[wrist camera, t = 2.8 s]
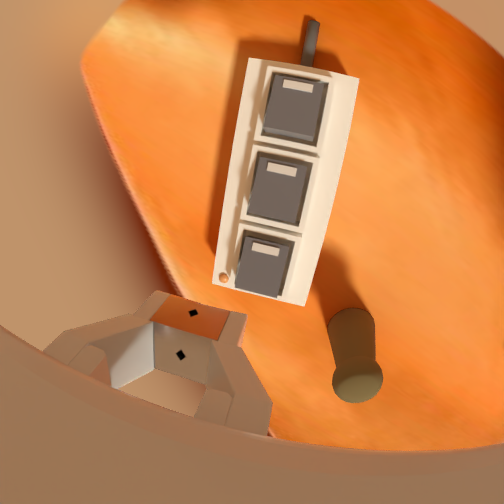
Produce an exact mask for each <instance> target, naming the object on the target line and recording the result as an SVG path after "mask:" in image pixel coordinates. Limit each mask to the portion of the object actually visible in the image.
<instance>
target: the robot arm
mask: <svg viewBox="0 0 504 504" xmlns="http://www.w3.org/2000/svg"><path fill="white" fill-rule="evenodd" d="M246 322H247V314H243V313H238V312H233V311H228V310H224V309H220V308H216V307H212V306H208V305H204V304H201V303H198V302H195V301H191V300H188V299H185V298H181V297H178V296H175V295H171V294H168V293H165V292H161V291H155V292H154V293H153V294H152V295H151V296H150V297H149V298H148V299H147V300H146V301H145V302H144V303H143V304H142V306H141V307H140V308H139V309H138V310H137V311H136V312H135V313H134V314H133V315H131V314H126V315H122V316H118V317H115V318H111V319H108V320H104V321H100V322H96V323H93V324H89V325H85V326H82V327H78V328H74V329H70V330H66V331H64V332H63V333H61V334H60V335H59V336H58V337H57V338H56V339H55V340H54V341H53V342H52V343H51V344H50V345H49V346H48V347H47V348H45V350H43V351H40V350H39V349H37V348H35V347H34V346H32V345H30V344H29V343H27V342H26V341H24V340H22V339H21V338H19V337H18V336H16V335H15V334H13V333H11V332H10V331H8V330H7V329H5V328H4V327H2V326H1V325H0V504H504V443H501V444H495V445H488V446H480V447H471V448H461V449H448V450H428V451H387V450H366V449H352V448H341V447H332V446H324V445H316V444H309V443H302V442H296V441H290V440H284V439H278V438H273V437H268V436H267V432H268V427H269V421H270V415H271V410H272V404H273V403H272V401H271V399H270V397H269V396H268V394H267V392H266V390H265V389H264V387H263V385H262V383H261V382H260V380H259V378H258V376H257V375H256V373H255V371H254V369H253V368H252V366H251V364H250V362H249V360H248V359H247V357H246V355H245V353H244V351H243V349H242V348H241V345H242V341H243V336H244V332H245V327H246ZM154 368H155V369H158V370H161V371H164V372H168V373H171V374H174V375H178V376H181V377H184V378H187V379H190V380H192V381H196V382H198V383H201V384H205V385H206V388H207V390H206V391H205V393H204V395H203V398H202V400H201V402H200V405H199V407H198V409H197V412H196V414H195V416H194V417H191V416H188V415H185V414H182V413H179V412H176V411H173V410H170V409H167V408H164V407H161V406H158V405H156V404H153V403H150V402H148V401H145V400H143V399H140V398H137V397H135V396H132V395H130V394H127V393H125V392H123V391H120V390H118V388H120V387H122V386H124V385H126V384H128V383H130V382H132V381H134V380H135V379H137V378H139V377H141V376H143V375H145V374H147V373H148V372H150V371H152V370H154Z"/></svg>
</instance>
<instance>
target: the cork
mask: <svg viewBox="0 0 504 504" xmlns="http://www.w3.org/2000/svg"><path fill="white" fill-rule="evenodd" d="M328 335H329V339H330V343H331V347H332V351H333V355H334V360H335V364H336V369H335V371H334V374H333V379H332V386H333V389H334V391H335V394H336V395H337V396H338V397H339V398H340V399H342V400H344V401H346V402H350V403H360V402H364V401H367V400H369V399H371V398H372V397H374V396H375V395H376V394H377V393H378V391H379V390H380V388H381V386H382V382H383V375H382V370H381V368H380V366H379V365H378V363H377V362H376V361H375V323H374V319H373V318H372V316H371V315H370V314H369V313H368V312H367V311H365V310H363V309H359V308H348V309H345V310H342V311H340V312H338V313H337V314H335V315H334V316H333V317H332V319H331V320H330V322H329V324H328Z"/></svg>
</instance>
